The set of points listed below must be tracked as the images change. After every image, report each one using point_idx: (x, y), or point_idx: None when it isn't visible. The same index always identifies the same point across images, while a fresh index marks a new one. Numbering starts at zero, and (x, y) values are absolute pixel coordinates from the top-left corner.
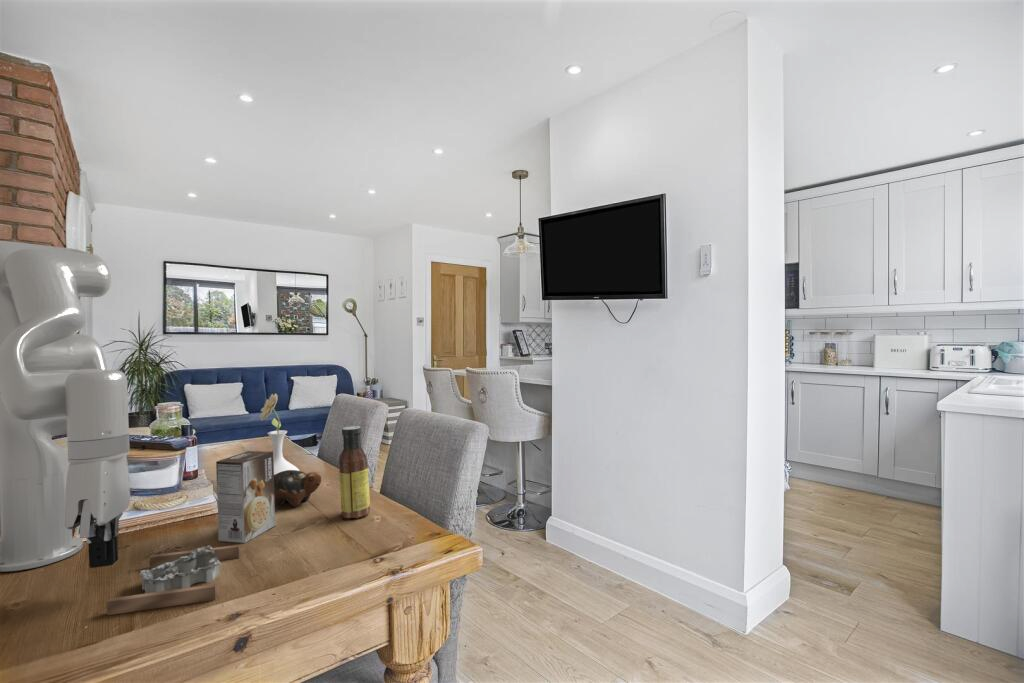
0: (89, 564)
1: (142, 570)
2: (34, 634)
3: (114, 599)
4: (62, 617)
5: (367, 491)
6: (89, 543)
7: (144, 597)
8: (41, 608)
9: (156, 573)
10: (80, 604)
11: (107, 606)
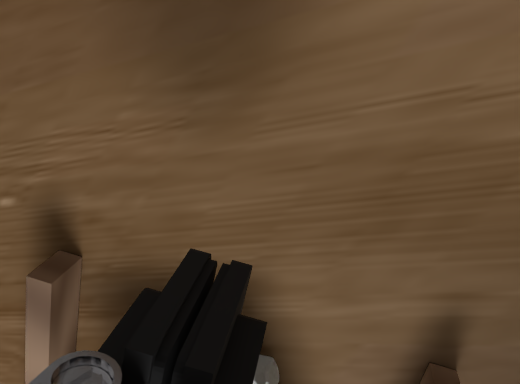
0: (186, 255)
1: (254, 382)
2: (4, 49)
3: (36, 296)
4: (104, 114)
5: None
6: (125, 348)
7: (26, 370)
8: (234, 3)
9: None
10: (194, 155)
11: (38, 268)
